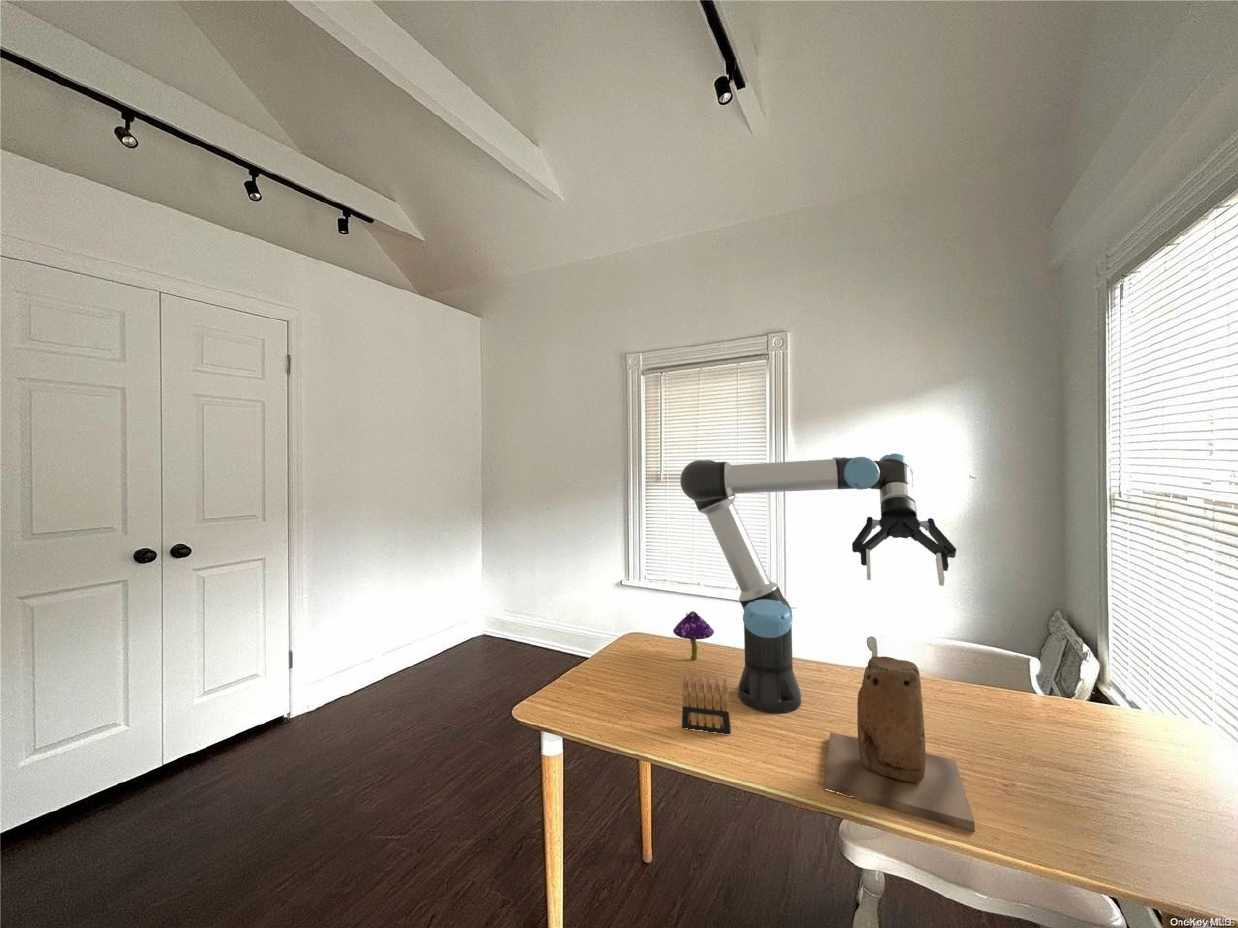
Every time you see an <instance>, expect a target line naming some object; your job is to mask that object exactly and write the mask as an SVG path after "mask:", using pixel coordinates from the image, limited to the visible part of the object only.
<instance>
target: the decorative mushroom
mask: <svg viewBox="0 0 1238 928" xmlns="http://www.w3.org/2000/svg"><path fill="white" fill-rule="evenodd" d="M672 631H673V634H674V635H675V636H676V637H679V638H681V639H685V640H689V641H690V644H691V656H690V659H691V661H697V659H698V645H697V641H696V640H705V639H708V638H710V637H712V636H713V635H714V633H715V631H714V629H713V628H712V627H711V626H710V624H709V623H707V621H706V620H705V619H704V618H702V617H701V616H700V615H699V614H698V613H697V612H696V611H693V610H692V611H690V612H689V613H688V614H687V615H686V616H684V617H683V618H682V619H681V620H680V621H679V622H678V623H677V624H676V626H675V627H674V628H673V630H672Z"/></svg>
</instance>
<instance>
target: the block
mask: <svg viewBox="0 0 1238 928" xmlns="http://www.w3.org/2000/svg"><path fill="white" fill-rule="evenodd" d="M859 688H860V689H859V691H858V693H857V705H856V707H857V709H856V710H857V723H856V724H857V738H858V745H859V754H860V759H861V762H862V764H863V766H864V767H866V768H868V769H870V770H872V771H873V770H874V771H876V772H878V773H880V774H882V775H885V776H888V777H891V778H895V779H898V780H902V781H907V782H920V781H922V780H923V779H924V774H925V767H926V752H927V751H926V735H925V719H924V707H923V695H922V684H921V674H920V669H919V668H918V666H917V664H916V663H914V662H911V661H909V660H904V659H897V658H893V657H891V656H877V655H876V656H875V655H874V656H872V657H871V658H869V660H868V662H867V666H866V667H865V669H864V674H863V678H862V682H861V687H859Z"/></svg>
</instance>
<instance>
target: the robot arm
mask: <svg viewBox="0 0 1238 928" xmlns="http://www.w3.org/2000/svg"><path fill="white" fill-rule="evenodd" d="M913 477H914V476H913V470H912V466H911V462H910V460H909V459H908V457H906V456H905V455H903V454H900V453H890V454H886V455H884V456H882V457H881V458H879V460H873V459H871V458H869V457H866V456H856V457H850V458H849V457H845V456H841V457H836V456H835V457H834V456H833V458H830V459H829V458H827V459H813V460H812V459H811V460H810V459H809V460H796V461H794V460H793V461H779V462H761V463H746V464H731V463H729V462H728V461H714V460H710V459H705V460H704V459H698V460H693V461H691V462H690V463H688V464H687V465H686V466H685V467H684V468H683V469H682V472H681V474H680V479H679V482H680V487H681V490H682V493H684V495H686V497H688V499H690V500H692V501H693V502H694V504H695V505H696V509H697V510H698V512H699V513H701V514H704V515H705V516H706V517H707V519H708V522H709V525H710V526H711V528H712V529H711V530H712V531H713V532H714V535H715V537H716V539H717V541H718V542H717V543H719V546H720V549H721V550H722V553H723V555H724V557H725V559H726V561H727V563H728V566H729V568H730V570H731V572H732V575H733V577H734V579H735V581H736V584H737V585H738V588H739V590H740V594H739V597H738V600H739V602H740V605H741V607H742V609H743V615H742V620H743V633H744V634H743V639H744V646H743V647H744V667H743V671H742V674H741V677H740V679H739V682H738V690H737V691H738V698H739V699H740V701H741V702H742V703H743V704H745V705H746V706H748V707H750V708H751V709H752V708H753V709H754V710H757V711H762V712H765V713H774V714H776V713H778V714H780V713H781V714H782V713H790V712H793V711H795V710H797V709H799V708H800V707H801V705H802V694H801V693H802V692H801V690H800V687H799V684H798V682H797V679H796V676H795V673H794V670H793V669H794V668H793V667H794V666H793V660H794V659H793V632H792V631H793V628H792V626H793V612H792V607H791V606H790V603H789V602H788V601H787V599H786V598H785V597H784V595H783V593H782V591H781V589H780V588H779V585H778V584H777V583H776V582H774V581H772V580H770V578H769V576H768V574H767V573H766V572H767V571H766V570H765V567H764V566H763V564H762V562H761V559H760V558H759V555H758V553H757V551H756V549H755V546H754V544H753V542H752V541H751V540H752V539H751V538H750V536H749V534H748V532H747V529H746V527H745V525H744V523H743V521H742V519H741V517H740V515H739V512H738V510H737V508H736V506H735V503H734V502H735V499H736V494H737V495H738V494H756V493H779V492H780V493H781V492H783V493H784V492H803V491H827V490H828V491H829V490H830V491H831V490H860V491H861V490H867V489H868V490H869V489H871V490H878V491H879V503H880V518H879V519H873V517H872V516H867V518H866V523H865V524H864V526H863V527H862V529H861V530H860V531H859V533H858V534H857V536H856V537H855V539H854V540H853V542H852V544H851V549H852V552H853V553H858V554H860V564H861V566H865V567H866V580H867V581H871V580H872V579H871V576H872V573H871V572H872V571H871V551H872V550H873V549H875V548H876V547H877V546H878V545H879V544H881V543H882V542H883V541H885V540H887V539H889V537H892V538H893V539H898V538H903V539H909V538H911V540H914V541H915V542H918V543H919V544H920V545H921V546H923V547H924V548H926V549H927V551H930V552H931V553H932V554H933V555H935V556H936V557H935V564H936V565H935V566H936V571H937V577H938V578H937V579H938V586H939V587H940V586H942V587H944V585H945V579H946V578H945V573H944V572H947V571H948V570H949V558H951V559H954V558H955V557H956V553H957V548H956V547H955V546H954V545H953V544H952V542H951V541H950V540H949V539H948V538H947V537H946V536H945V535H944V533H943V532H942V531H941V529H939V528H938V526H937V525H936V523H935V520H934V519H933V518H931V517H930V518H927V520H919V518H918V514H917V513H918V512H917V504H916V497H915V495H916V494H915V489H914V479H913ZM878 526H879V527H880V529H879V530H878V531H877V532H876V533H875V534H874V535H872V536H871V537H870V534H871V533H872V531H873V530H875V528H877V527H878ZM920 528H923V529H924V530H925V531H926V532H928V534H929V535H930V537H931V538H930V537H929V536H928V535H927V534H926V533H924V532H923V531H922V529H920ZM868 537H870V538H868ZM932 538H933V539H934V540H933V539H932ZM867 539H868V540H867Z"/></svg>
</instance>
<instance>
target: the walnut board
mask: <svg viewBox="0 0 1238 928" xmlns="http://www.w3.org/2000/svg"><path fill="white" fill-rule="evenodd" d="M825 762H826V763H825V770H824V778H823V790H824V789H828V790H832V791H835V792H839V793H842V794H844V795H847V796H853V797H855V798H858V799H861V800H863V801H862V802H865V801H866V802H865V803H869V802H870V804H872V803H873V805H876V806H880V807H883V806H884V808H887V807H888V808H887V809H891V808H892V810H894V809H896V810H895V811H899V812H902V813H905V812H906V813H905V814H909V815H913V816H917V817H919V818H923V819H928V820H931V821H935V822H939V823H943V824H945V825H950V826H953V827H956V826H957V828H960V829H963V830H966V831H967V830H968V831H971V832H975V829H976V828H975V820H974V816H973V812H972V809H971V807H970V804H969V800H968V796H967V793H966V790H965V788H964V783H963V781H962V777H961V773H960V770H959V768H958V765H957V762H956V759H954V758H949V757H945V756H941V755H936V754H932V753H926V767H925V774H924V779H923V780H922V781H920V782H907V781H902V780H898V779H895V778H891V777H888V776H885V775H882V774H880V773H878V772H876V771H874V770H873V771H872V770H870V769H868V768H866V767H864V766H863V764H862V762H861V759H860V754H859V745H858V737H856V736H855V737H854V736H849V735H844V734H840V733H836V732H830V733H829V739H828V746H827V755H826V761H825ZM847 796H846V797H847ZM858 799H857V800H858ZM861 800H860V801H861Z"/></svg>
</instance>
